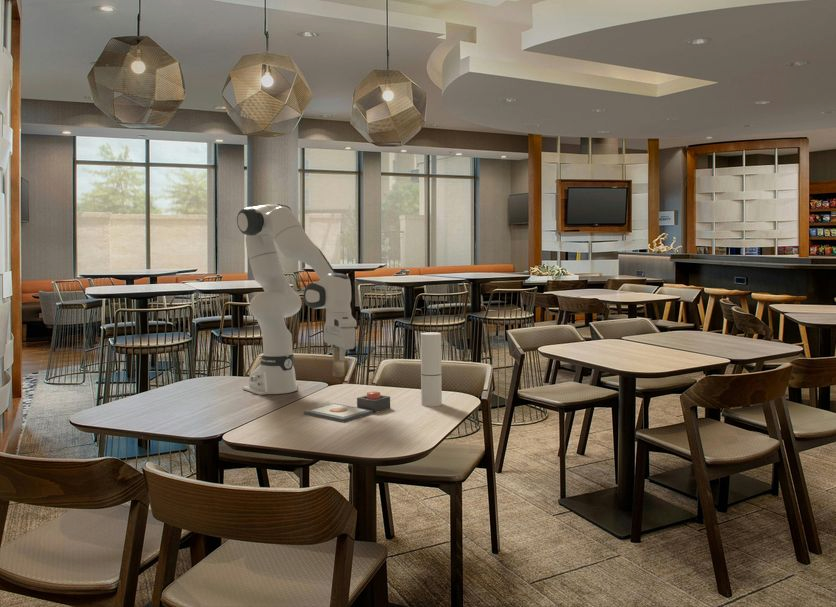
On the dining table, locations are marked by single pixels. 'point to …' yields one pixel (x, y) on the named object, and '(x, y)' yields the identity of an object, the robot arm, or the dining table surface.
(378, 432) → the dining table surface
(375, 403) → the button housing
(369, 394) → the button
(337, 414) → the grey tray
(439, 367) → the cylindrical container
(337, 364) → the marker
